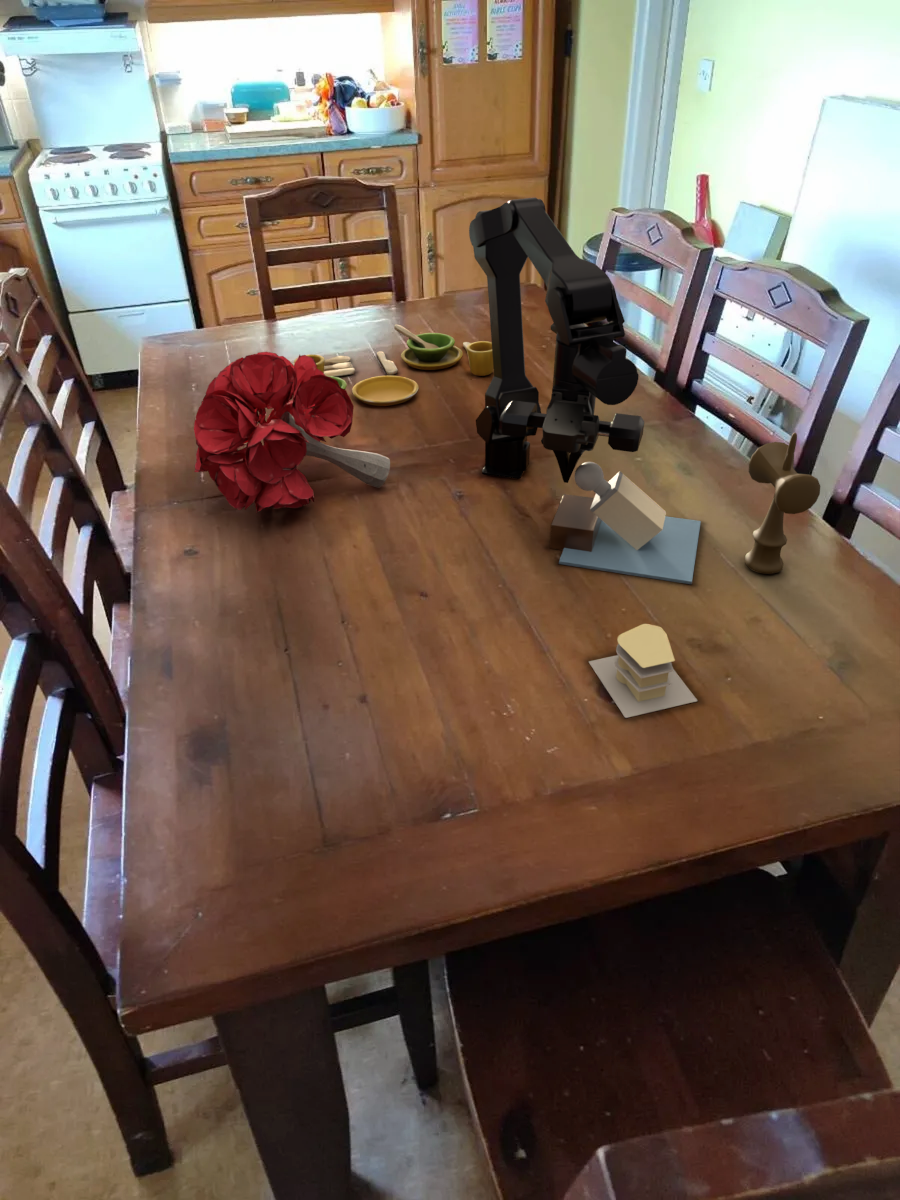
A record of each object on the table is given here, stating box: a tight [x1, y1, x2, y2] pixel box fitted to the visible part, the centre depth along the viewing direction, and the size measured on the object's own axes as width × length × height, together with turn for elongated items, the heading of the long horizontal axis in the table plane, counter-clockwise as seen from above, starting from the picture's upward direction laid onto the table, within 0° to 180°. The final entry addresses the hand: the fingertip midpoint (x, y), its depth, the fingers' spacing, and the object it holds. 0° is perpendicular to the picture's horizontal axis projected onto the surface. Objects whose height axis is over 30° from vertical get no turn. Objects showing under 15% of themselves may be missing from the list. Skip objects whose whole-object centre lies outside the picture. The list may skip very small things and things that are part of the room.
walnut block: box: [549, 493, 602, 552], centre depth 124 cm, size 6×9×4 cm, turn 163°
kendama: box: [744, 432, 821, 575], centre depth 112 cm, size 6×10×20 cm, turn 5°
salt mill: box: [573, 461, 667, 550], centre depth 120 cm, size 14×5×10 cm, turn 73°
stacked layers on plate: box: [588, 623, 699, 719], centre depth 98 cm, size 10×9×6 cm
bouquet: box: [193, 351, 391, 513], centre depth 129 cm, size 22×24×30 cm
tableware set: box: [292, 324, 494, 407], centre depth 171 cm, size 41×28×6 cm
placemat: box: [558, 515, 702, 585], centre depth 123 cm, size 18×16×1 cm
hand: (566, 481), depth 120 cm, fingers closed
